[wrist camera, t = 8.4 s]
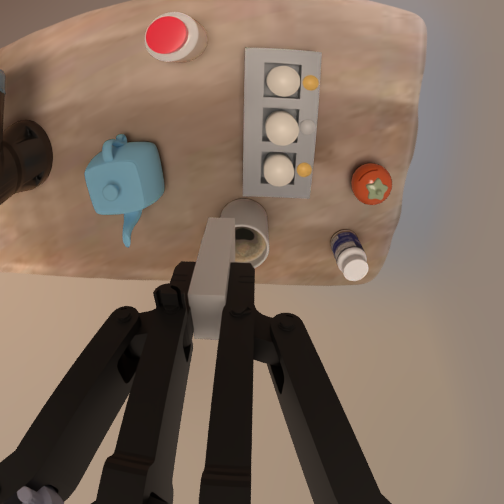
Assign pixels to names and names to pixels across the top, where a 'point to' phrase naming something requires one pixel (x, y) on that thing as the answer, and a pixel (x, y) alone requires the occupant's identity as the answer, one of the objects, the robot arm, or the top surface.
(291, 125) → the button middle
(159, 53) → the pill bottle
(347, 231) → the pill bottle
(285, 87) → the button
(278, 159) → the button
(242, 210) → the mug
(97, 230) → the top surface
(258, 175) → the console
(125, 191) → the teapot
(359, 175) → the tomato
